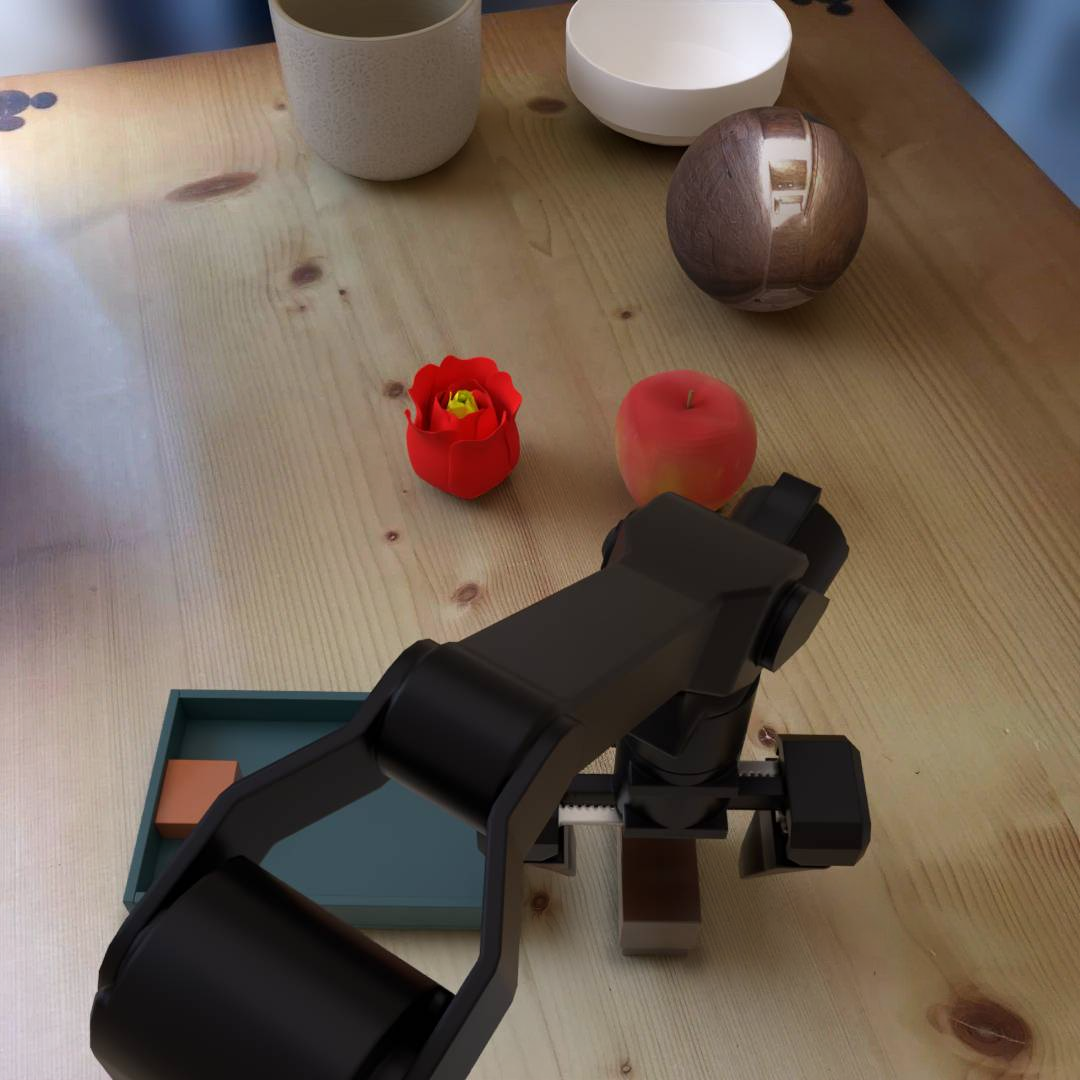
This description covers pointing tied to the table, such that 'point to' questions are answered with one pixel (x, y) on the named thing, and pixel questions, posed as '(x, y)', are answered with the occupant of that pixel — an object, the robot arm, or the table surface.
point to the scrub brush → (657, 895)
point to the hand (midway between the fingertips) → (657, 869)
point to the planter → (381, 80)
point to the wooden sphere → (766, 209)
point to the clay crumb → (191, 793)
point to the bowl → (675, 63)
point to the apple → (685, 438)
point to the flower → (463, 425)
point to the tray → (335, 841)
